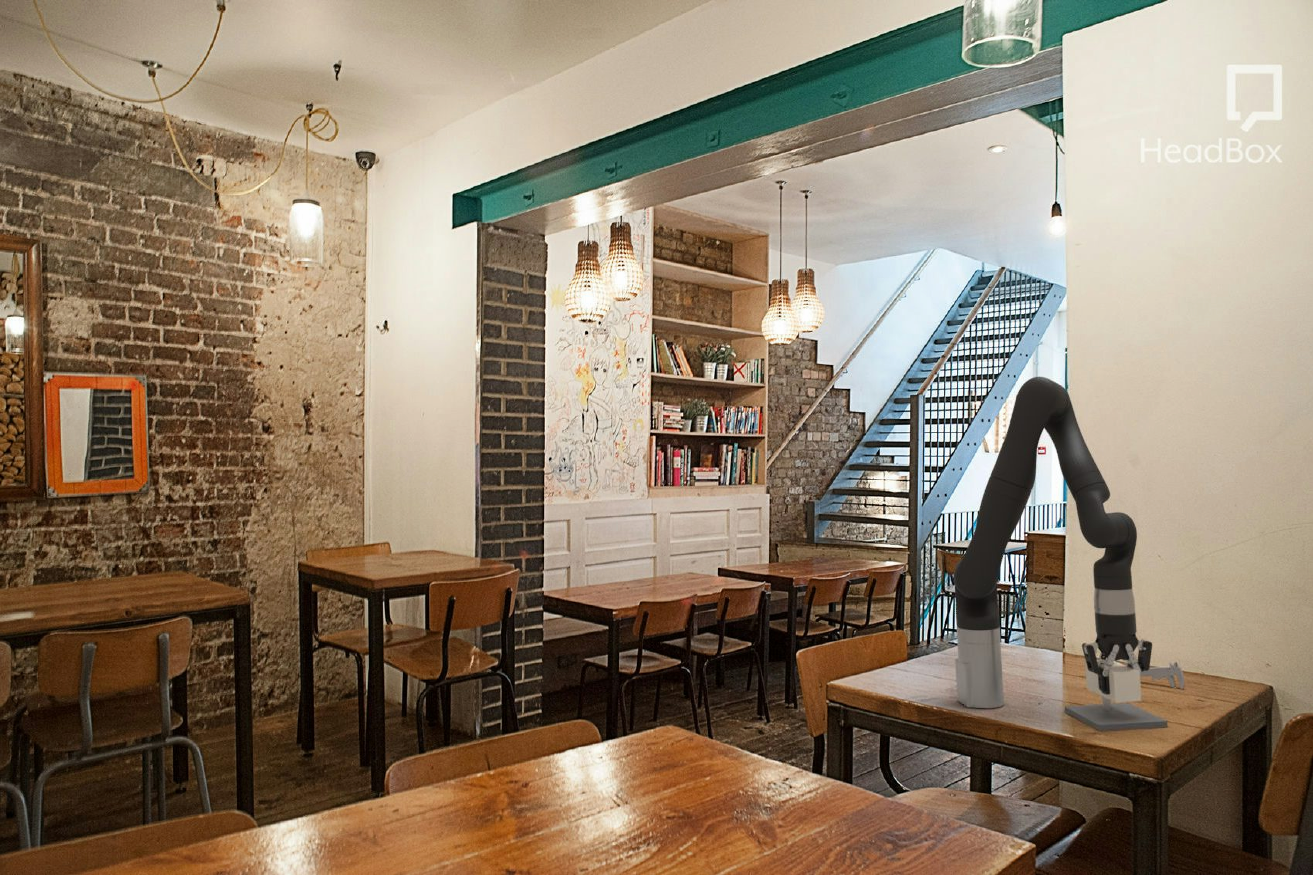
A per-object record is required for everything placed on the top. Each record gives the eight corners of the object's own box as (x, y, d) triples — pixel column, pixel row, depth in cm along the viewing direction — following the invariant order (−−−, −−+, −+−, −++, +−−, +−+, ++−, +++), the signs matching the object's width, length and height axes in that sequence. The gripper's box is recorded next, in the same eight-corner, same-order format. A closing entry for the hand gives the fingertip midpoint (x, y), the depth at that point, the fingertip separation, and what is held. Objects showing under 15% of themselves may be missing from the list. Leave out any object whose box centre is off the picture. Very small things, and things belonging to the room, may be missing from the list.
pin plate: (1099, 731, 181) (1097, 699, 181) (1064, 711, 195) (1063, 682, 195) (1167, 726, 182) (1165, 695, 182) (1128, 708, 196) (1126, 679, 196)
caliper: (1185, 689, 209) (1183, 662, 209) (1183, 690, 208) (1181, 663, 208) (1095, 676, 225) (1094, 650, 225) (1093, 677, 224) (1092, 651, 224)
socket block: (1115, 702, 183) (1113, 672, 183) (1086, 688, 194) (1085, 660, 194) (1141, 700, 183) (1139, 670, 183) (1111, 687, 194) (1109, 659, 194)
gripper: (1090, 615, 182) (1095, 699, 182) (1159, 610, 183) (1165, 695, 183) (1071, 609, 190) (1076, 690, 190) (1137, 605, 191) (1143, 686, 190)
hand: (1120, 692), depth 186 cm, fingers closed on socket block, 5 cm apart
